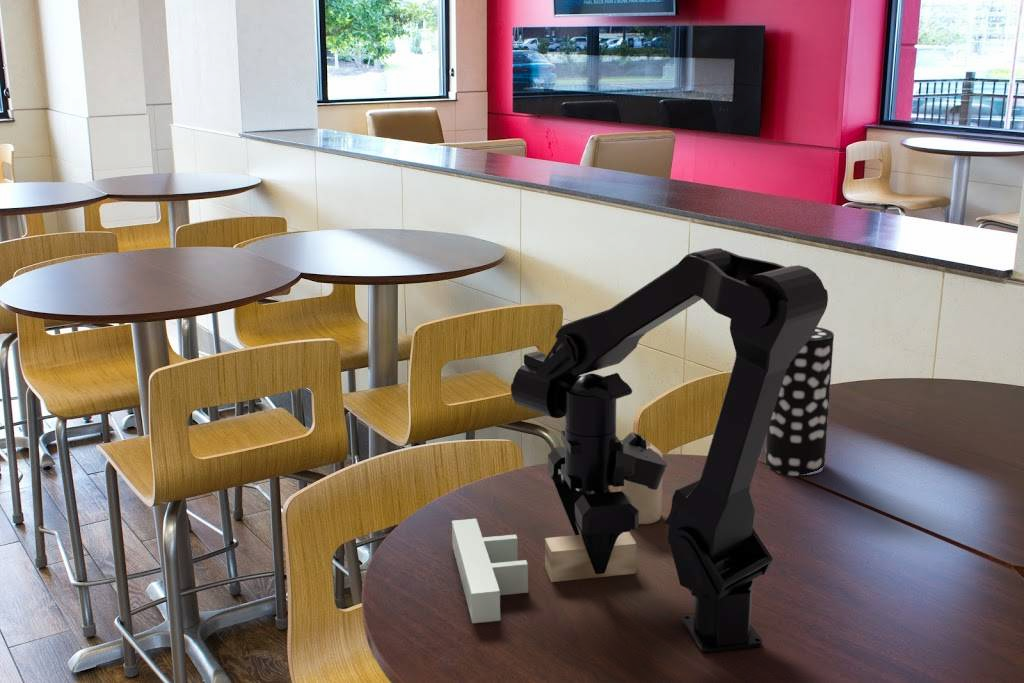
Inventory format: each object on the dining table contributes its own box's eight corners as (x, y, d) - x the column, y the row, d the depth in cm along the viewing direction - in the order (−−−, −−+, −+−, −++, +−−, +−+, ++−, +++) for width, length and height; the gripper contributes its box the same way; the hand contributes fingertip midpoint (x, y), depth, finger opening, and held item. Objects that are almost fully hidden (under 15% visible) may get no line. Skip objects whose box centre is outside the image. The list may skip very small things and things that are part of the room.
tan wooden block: (551, 583, 116) (551, 551, 115) (545, 569, 120) (544, 538, 119) (635, 575, 118) (636, 543, 117) (627, 561, 121) (627, 530, 120)
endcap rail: (537, 616, 109) (536, 587, 108) (472, 623, 108) (471, 593, 107) (508, 541, 126) (508, 515, 125) (452, 546, 125) (451, 520, 124)
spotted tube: (763, 473, 146) (770, 338, 141) (766, 452, 154) (774, 323, 148) (824, 478, 144) (833, 342, 138) (824, 457, 151) (833, 327, 146)
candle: (659, 526, 130) (661, 453, 127) (616, 523, 131) (617, 450, 128) (662, 508, 135) (664, 437, 132) (620, 505, 136) (621, 435, 133)
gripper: (687, 452, 107) (682, 586, 111) (635, 397, 124) (633, 514, 128) (583, 460, 105) (583, 597, 109) (546, 403, 123) (547, 522, 127)
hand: (589, 554), depth 118 cm, fingers open, 9 cm apart
